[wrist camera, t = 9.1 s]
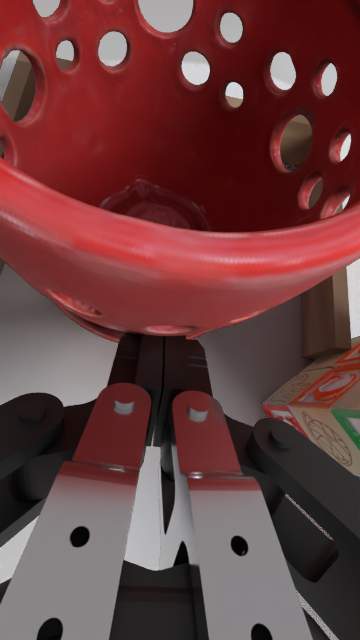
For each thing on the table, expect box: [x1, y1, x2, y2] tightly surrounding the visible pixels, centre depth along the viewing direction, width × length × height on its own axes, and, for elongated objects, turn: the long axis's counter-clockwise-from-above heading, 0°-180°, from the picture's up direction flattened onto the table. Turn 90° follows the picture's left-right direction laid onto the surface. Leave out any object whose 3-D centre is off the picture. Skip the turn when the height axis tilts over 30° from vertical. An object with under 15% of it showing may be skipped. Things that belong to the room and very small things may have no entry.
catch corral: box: [0, 51, 352, 359], centre depth 17 cm, size 19×14×3 cm
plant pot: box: [0, 0, 360, 343], centre depth 12 cm, size 13×13×12 cm
